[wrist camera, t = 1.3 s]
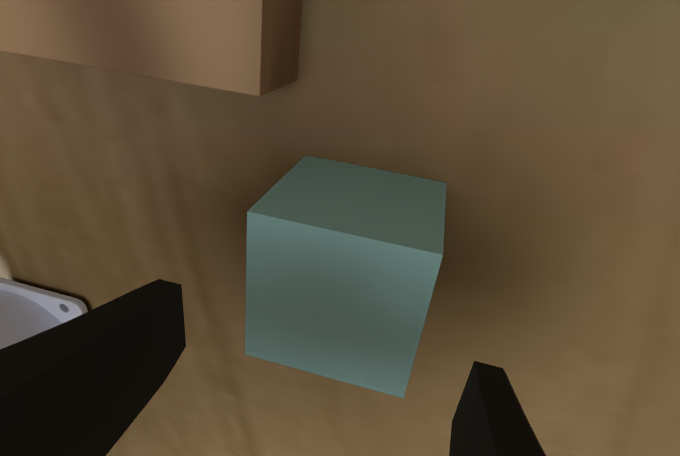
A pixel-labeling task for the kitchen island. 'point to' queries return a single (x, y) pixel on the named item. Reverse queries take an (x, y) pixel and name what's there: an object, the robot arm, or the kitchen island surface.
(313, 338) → the teal cube
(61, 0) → the walnut block
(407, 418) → the kitchen island surface
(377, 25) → the kitchen island surface
